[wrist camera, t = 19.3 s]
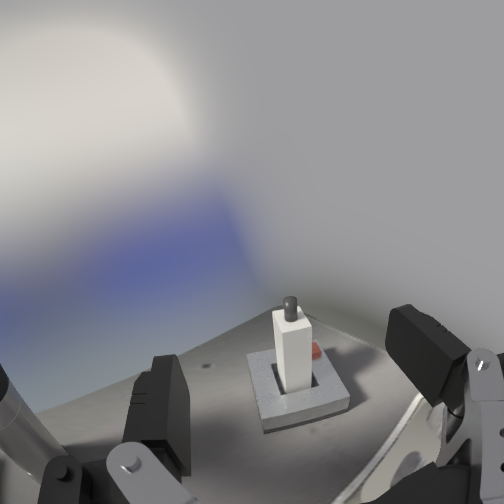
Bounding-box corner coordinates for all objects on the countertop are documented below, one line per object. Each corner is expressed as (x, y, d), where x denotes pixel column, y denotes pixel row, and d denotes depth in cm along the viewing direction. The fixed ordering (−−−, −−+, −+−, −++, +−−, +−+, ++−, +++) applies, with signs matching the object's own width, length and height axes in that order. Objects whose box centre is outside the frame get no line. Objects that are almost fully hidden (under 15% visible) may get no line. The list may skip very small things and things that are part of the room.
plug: (286, 401, 40) (280, 313, 34) (278, 379, 45) (270, 293, 39) (310, 395, 40) (311, 306, 34) (300, 373, 45) (298, 287, 39)
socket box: (264, 433, 35) (261, 415, 33) (249, 370, 49) (245, 350, 47) (347, 411, 36) (350, 392, 35) (316, 355, 50) (316, 335, 49)
